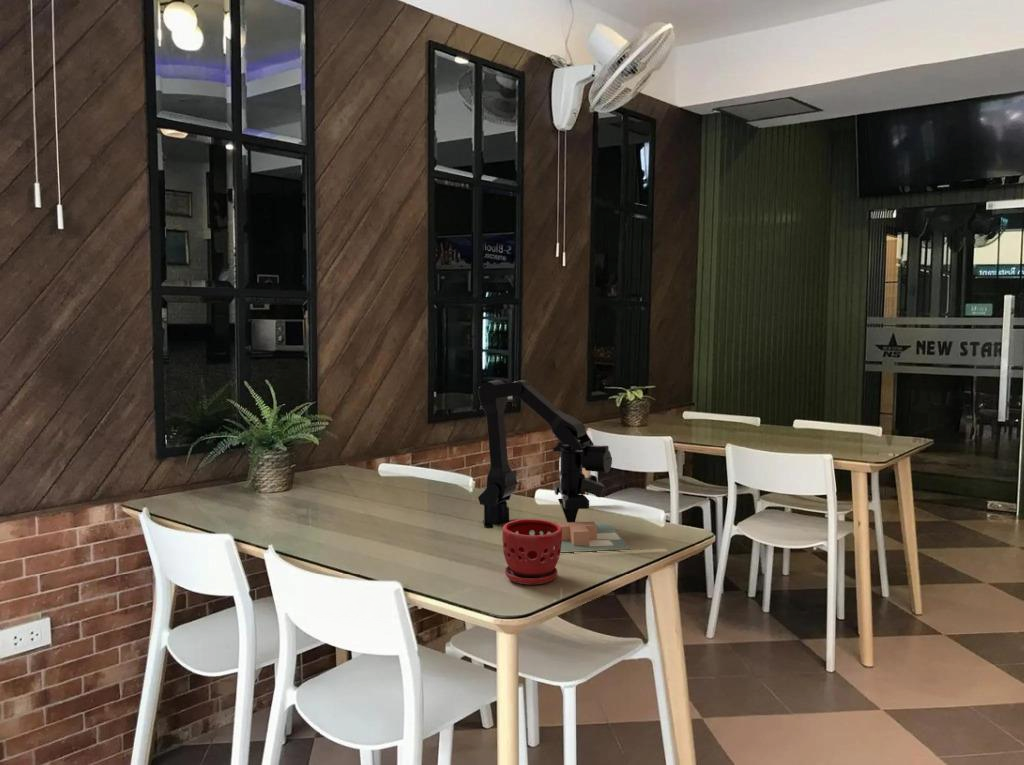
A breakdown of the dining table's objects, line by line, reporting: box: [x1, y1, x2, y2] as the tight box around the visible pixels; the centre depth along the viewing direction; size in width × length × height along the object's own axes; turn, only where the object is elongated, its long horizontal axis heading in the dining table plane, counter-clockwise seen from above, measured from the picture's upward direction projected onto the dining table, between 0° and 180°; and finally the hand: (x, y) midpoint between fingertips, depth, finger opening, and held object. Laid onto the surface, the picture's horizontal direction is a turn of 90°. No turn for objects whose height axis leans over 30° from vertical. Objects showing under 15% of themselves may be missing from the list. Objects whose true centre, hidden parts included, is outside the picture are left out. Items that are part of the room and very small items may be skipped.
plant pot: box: [502, 518, 562, 586], centre depth 187 cm, size 13×13×12 cm
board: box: [529, 522, 631, 554], centre depth 218 cm, size 23×24×1 cm
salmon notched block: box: [555, 521, 597, 546], centre depth 214 cm, size 10×9×4 cm
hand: (571, 527), depth 222 cm, fingers closed
